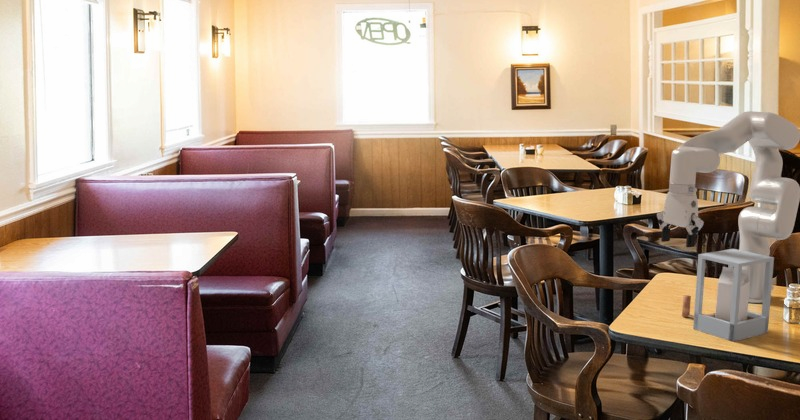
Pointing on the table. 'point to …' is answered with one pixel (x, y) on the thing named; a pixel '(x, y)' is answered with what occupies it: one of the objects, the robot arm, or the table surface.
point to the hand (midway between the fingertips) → (677, 244)
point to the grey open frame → (734, 297)
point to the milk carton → (726, 295)
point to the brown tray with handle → (687, 308)
